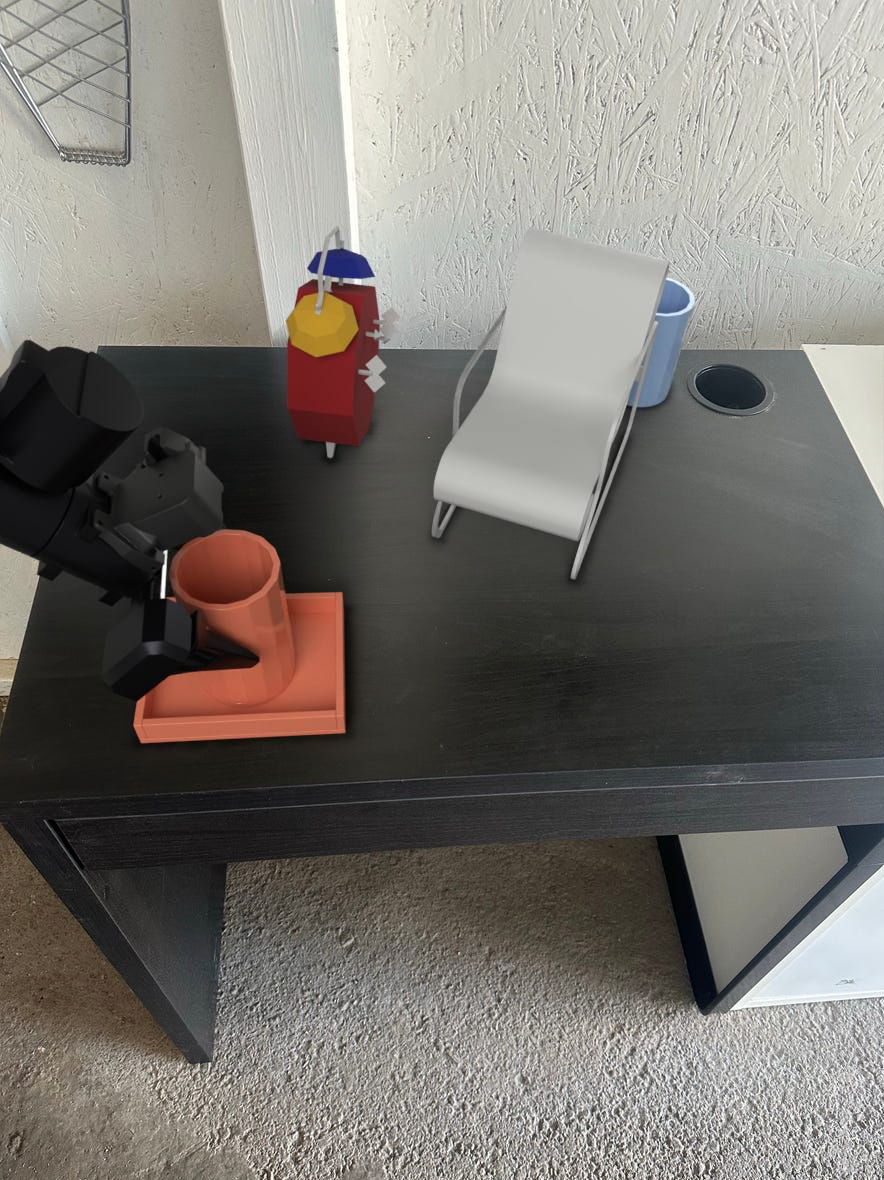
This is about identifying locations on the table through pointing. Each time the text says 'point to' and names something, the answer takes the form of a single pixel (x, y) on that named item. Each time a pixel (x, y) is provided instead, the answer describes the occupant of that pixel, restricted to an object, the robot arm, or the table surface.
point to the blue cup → (665, 344)
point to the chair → (554, 388)
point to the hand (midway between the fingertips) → (255, 612)
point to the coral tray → (297, 711)
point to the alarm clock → (335, 349)
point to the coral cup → (239, 611)
